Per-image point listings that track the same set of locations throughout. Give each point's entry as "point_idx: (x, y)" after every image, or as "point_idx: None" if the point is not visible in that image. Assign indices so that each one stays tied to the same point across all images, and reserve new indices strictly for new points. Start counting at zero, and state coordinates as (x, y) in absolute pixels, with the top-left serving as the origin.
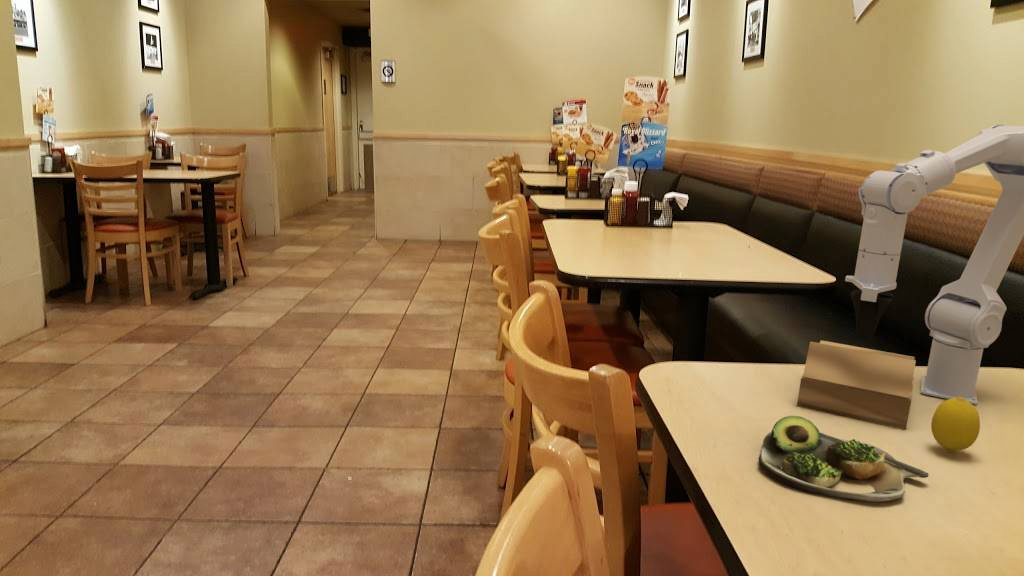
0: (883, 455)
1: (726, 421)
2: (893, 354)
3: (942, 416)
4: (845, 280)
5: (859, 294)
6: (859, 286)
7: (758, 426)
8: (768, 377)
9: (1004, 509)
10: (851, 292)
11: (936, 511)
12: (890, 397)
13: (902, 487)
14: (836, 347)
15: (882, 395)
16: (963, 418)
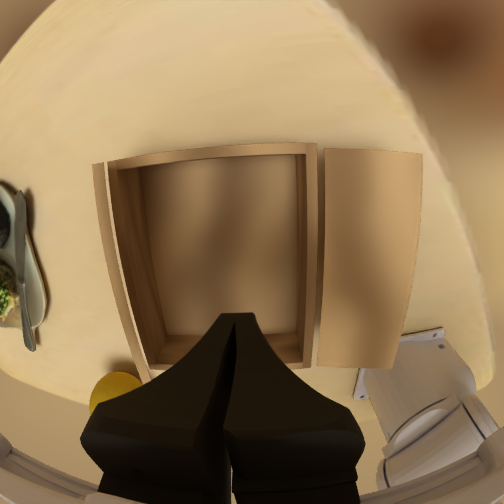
0: (2, 318)
1: (21, 109)
2: (395, 334)
3: (91, 397)
4: (91, 497)
5: (100, 461)
6: (5, 480)
7: (27, 148)
8: (281, 63)
9: (56, 390)
10: (109, 436)
11: (12, 345)
12: (142, 340)
13: (2, 326)
14: (105, 253)
15: (138, 328)
16: None
